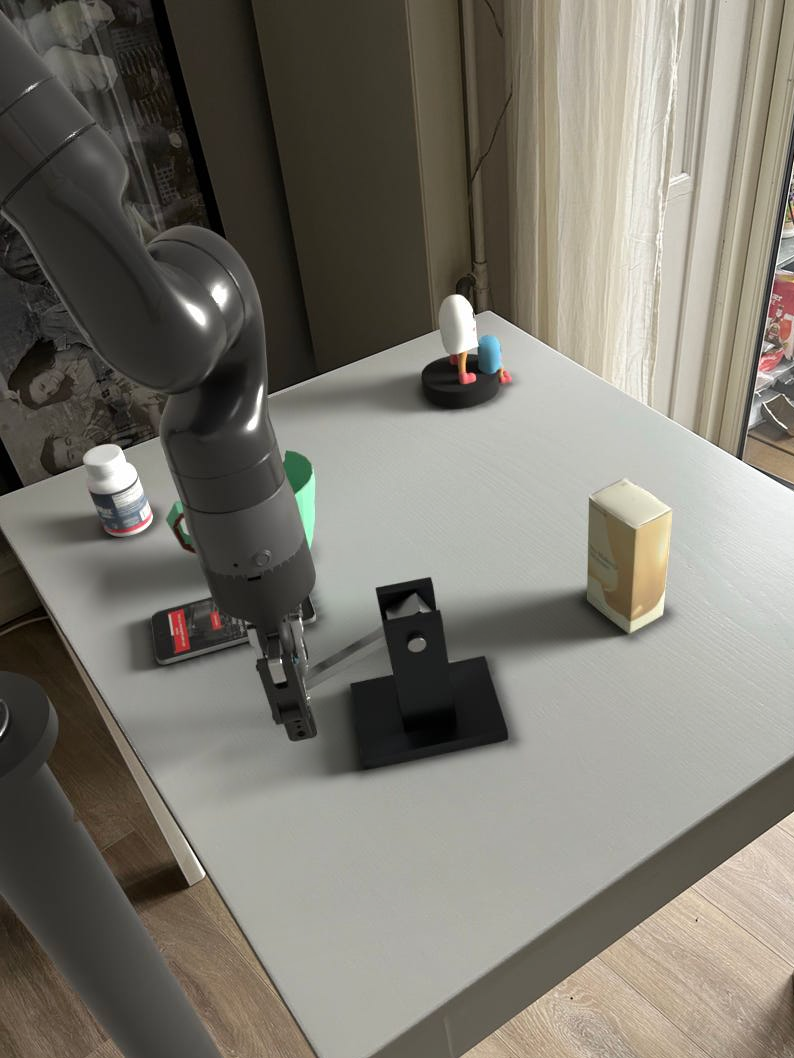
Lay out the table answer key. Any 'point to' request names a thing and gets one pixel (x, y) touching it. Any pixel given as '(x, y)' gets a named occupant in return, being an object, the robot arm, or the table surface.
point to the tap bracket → (423, 690)
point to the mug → (303, 488)
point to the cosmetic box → (627, 554)
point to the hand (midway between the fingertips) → (300, 697)
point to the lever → (362, 644)
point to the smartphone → (201, 629)
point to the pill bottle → (116, 491)
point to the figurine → (463, 361)
